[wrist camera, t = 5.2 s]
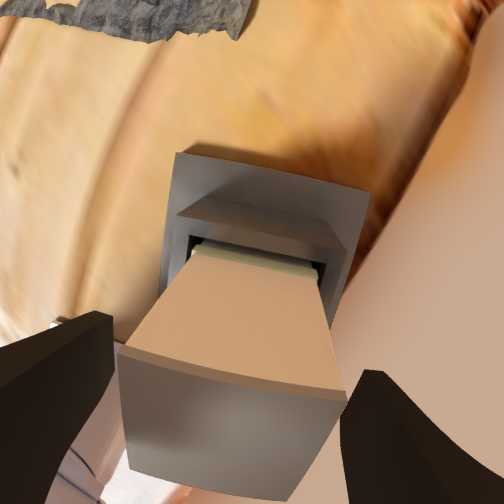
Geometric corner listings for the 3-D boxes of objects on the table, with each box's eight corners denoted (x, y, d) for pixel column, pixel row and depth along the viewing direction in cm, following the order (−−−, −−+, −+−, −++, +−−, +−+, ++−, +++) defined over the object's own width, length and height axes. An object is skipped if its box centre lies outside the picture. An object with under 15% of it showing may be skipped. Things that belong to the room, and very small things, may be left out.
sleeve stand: (317, 348, 19) (328, 417, 14) (161, 315, 19) (124, 374, 14) (365, 191, 16) (408, 212, 10) (181, 152, 16) (134, 154, 11)
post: (286, 339, 15) (287, 502, 6) (194, 319, 15) (127, 469, 7) (310, 252, 13) (351, 399, 5) (208, 231, 13) (113, 349, 5)
